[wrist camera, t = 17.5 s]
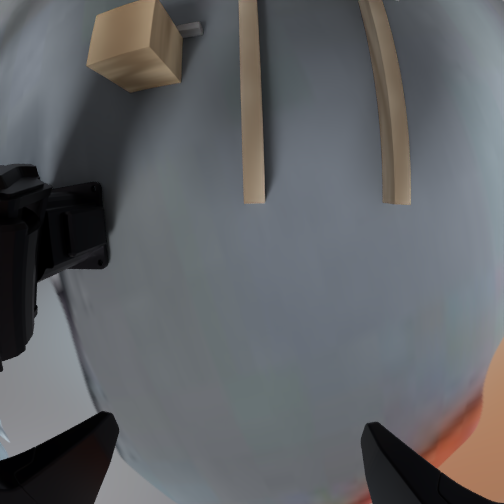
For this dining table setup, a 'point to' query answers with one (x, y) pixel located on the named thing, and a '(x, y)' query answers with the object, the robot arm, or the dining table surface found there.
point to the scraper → (139, 46)
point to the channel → (387, 94)
